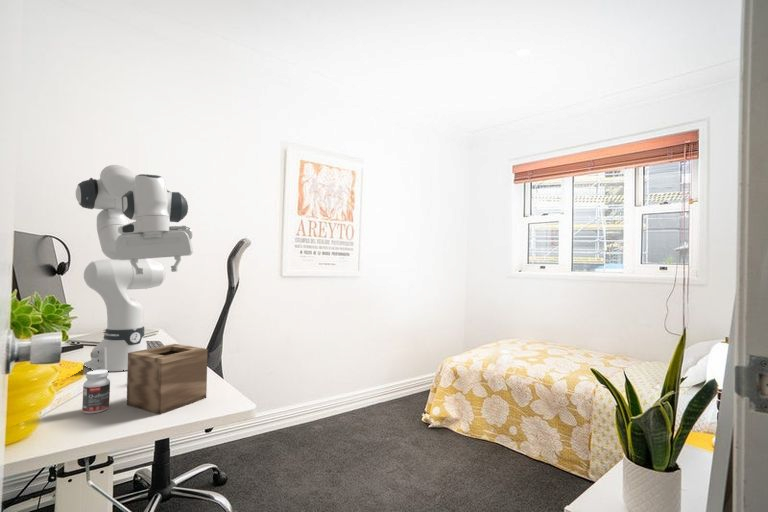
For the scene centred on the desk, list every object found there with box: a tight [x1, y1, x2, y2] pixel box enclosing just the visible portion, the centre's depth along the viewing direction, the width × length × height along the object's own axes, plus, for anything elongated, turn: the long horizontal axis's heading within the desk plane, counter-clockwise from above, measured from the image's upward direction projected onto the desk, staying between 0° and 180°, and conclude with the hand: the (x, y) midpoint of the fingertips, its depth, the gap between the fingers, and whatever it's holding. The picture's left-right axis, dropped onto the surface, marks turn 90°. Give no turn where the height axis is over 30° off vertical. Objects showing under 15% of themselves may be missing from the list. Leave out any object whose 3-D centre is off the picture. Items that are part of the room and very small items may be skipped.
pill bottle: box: [81, 370, 111, 415], centre depth 104 cm, size 6×6×10 cm
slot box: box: [126, 343, 209, 415], centre depth 112 cm, size 14×14×14 cm
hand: (157, 273), depth 121 cm, fingers open, 8 cm apart
